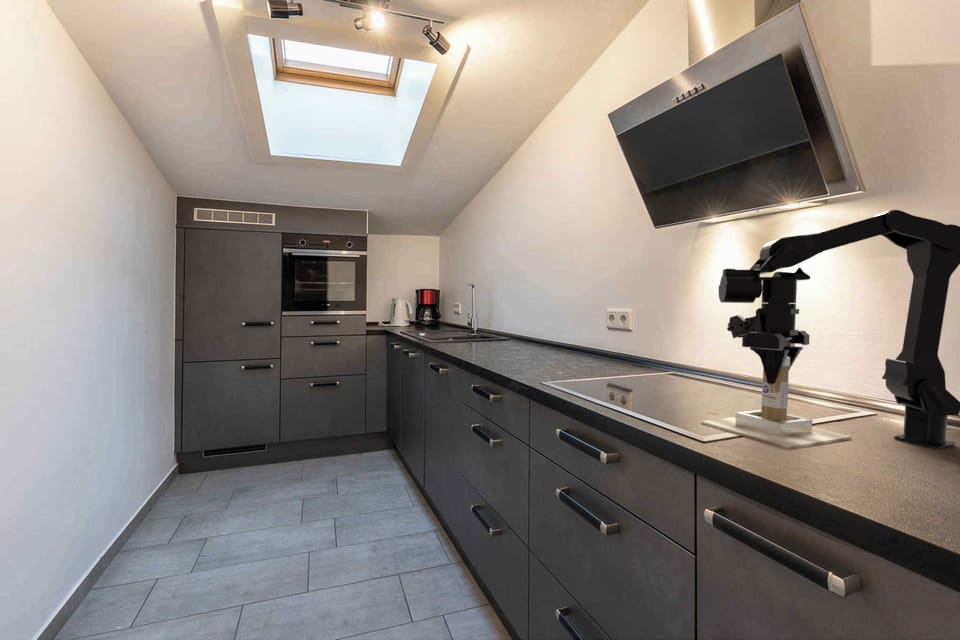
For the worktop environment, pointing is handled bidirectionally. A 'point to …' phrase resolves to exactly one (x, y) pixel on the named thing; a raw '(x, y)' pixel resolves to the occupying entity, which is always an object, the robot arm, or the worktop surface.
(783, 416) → the sprinkles bottle
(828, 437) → the birch board
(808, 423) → the socket collar
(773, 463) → the worktop surface
